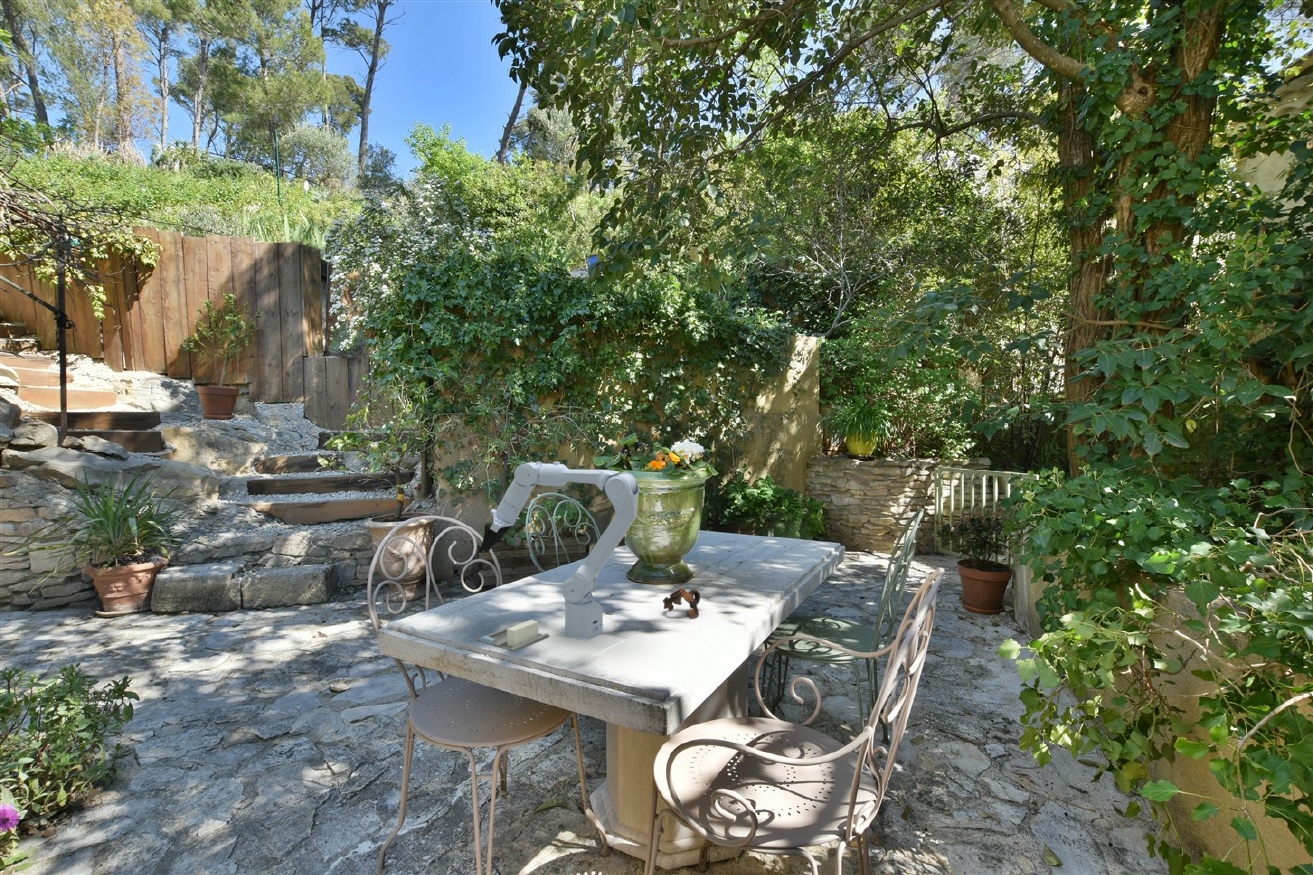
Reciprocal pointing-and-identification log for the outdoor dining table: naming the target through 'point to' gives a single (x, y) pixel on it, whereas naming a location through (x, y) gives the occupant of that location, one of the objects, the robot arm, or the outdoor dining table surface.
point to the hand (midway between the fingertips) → (488, 545)
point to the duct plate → (501, 640)
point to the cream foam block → (522, 633)
